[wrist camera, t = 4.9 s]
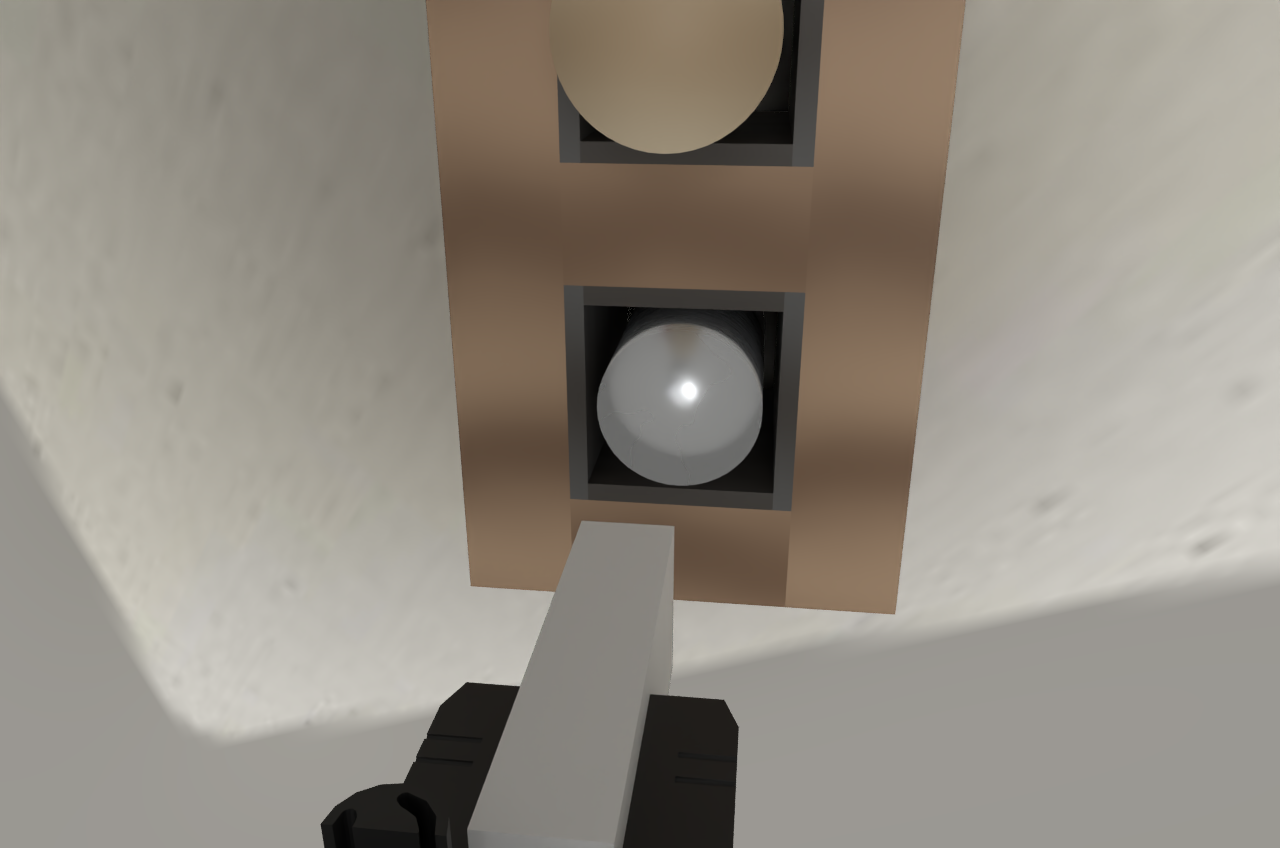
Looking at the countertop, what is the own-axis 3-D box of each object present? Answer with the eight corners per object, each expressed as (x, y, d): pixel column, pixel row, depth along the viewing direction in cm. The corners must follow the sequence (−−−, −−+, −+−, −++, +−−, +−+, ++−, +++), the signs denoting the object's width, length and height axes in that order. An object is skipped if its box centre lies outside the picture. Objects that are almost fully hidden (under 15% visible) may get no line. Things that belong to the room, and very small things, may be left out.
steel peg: (634, 258, 32) (595, 328, 25) (767, 262, 31) (766, 334, 24) (634, 383, 33) (598, 481, 26) (761, 388, 33) (758, 490, 26)
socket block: (500, -207, 28) (404, -283, 21) (938, -219, 27) (1000, -304, 19) (532, 468, 36) (470, 586, 29) (869, 486, 35) (895, 614, 27)
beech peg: (610, -68, 24) (544, -98, 17) (785, -70, 24) (790, -102, 17) (612, 113, 26) (553, 152, 19) (776, 115, 25) (777, 155, 18)
